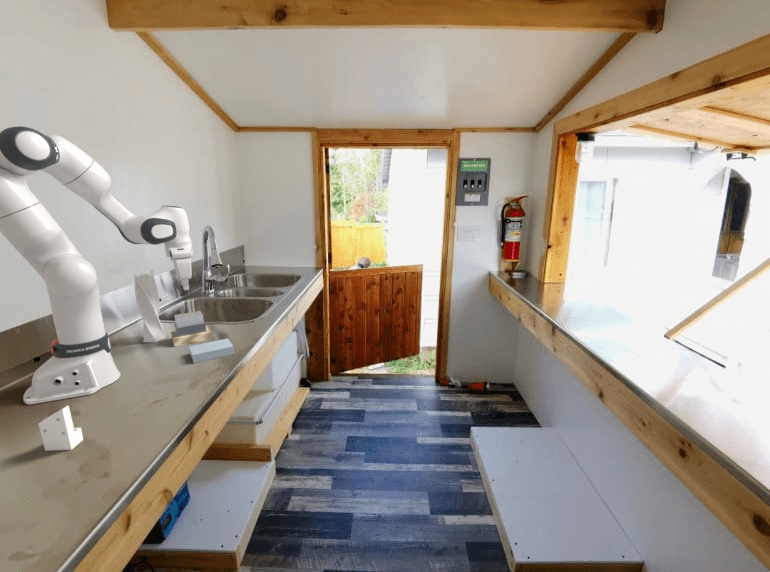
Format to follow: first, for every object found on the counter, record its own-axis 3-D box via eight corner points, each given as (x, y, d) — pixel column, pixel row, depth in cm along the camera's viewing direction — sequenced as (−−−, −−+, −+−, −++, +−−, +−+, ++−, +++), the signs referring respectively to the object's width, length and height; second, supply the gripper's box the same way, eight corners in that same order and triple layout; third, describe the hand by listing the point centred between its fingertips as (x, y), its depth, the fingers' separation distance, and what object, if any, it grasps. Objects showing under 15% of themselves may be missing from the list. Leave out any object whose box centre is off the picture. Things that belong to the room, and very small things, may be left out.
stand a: (174, 346, 142) (173, 339, 142) (172, 339, 150) (171, 332, 149) (212, 339, 149) (211, 332, 149) (208, 332, 157) (207, 325, 156)
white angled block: (89, 439, 85) (62, 409, 83) (54, 460, 86) (26, 431, 84) (100, 429, 89) (74, 400, 87) (66, 449, 90) (40, 421, 88)
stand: (193, 363, 128) (192, 355, 128) (190, 354, 136) (189, 346, 135) (234, 354, 135) (233, 346, 134) (228, 346, 142) (228, 338, 142)
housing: (177, 337, 144) (174, 319, 142) (175, 332, 149) (173, 315, 147) (206, 331, 149) (203, 314, 147) (203, 327, 154) (201, 310, 152)
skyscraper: (172, 336, 153) (161, 268, 147) (158, 344, 146) (146, 272, 139) (152, 336, 154) (140, 267, 147) (137, 344, 146) (124, 272, 140)
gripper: (167, 248, 148) (172, 283, 151) (172, 254, 131) (178, 293, 135) (185, 246, 151) (190, 280, 155) (192, 253, 135) (197, 291, 138)
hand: (184, 287), depth 145 cm, fingers open, 8 cm apart
